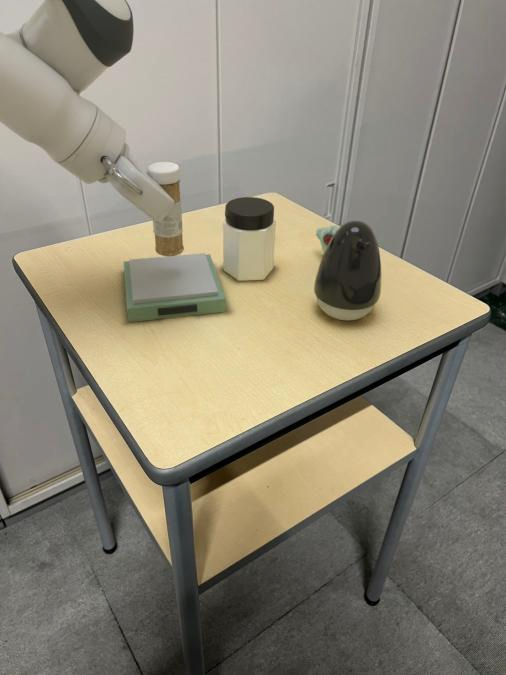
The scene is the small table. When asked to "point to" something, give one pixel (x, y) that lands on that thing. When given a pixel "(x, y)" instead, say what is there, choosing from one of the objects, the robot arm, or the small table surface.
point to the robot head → (326, 235)
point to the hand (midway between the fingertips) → (170, 207)
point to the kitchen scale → (172, 287)
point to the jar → (248, 238)
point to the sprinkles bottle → (167, 229)
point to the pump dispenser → (349, 273)
